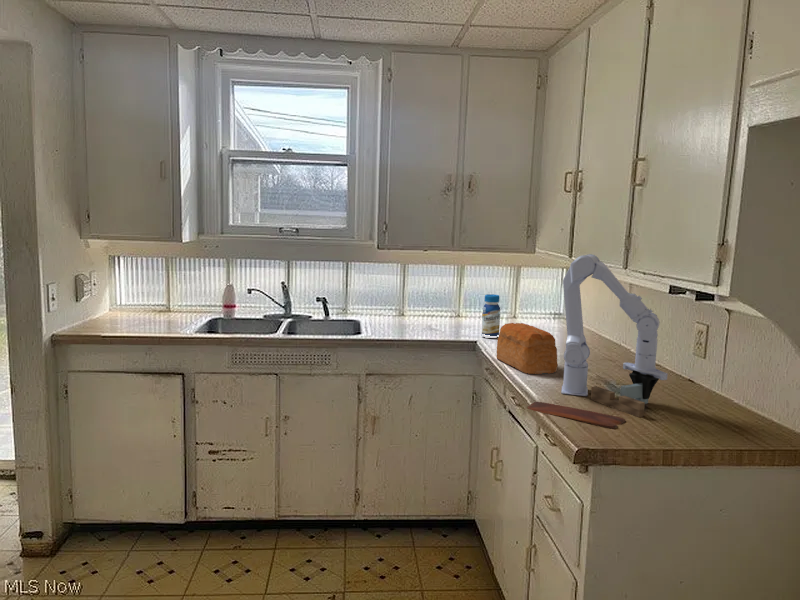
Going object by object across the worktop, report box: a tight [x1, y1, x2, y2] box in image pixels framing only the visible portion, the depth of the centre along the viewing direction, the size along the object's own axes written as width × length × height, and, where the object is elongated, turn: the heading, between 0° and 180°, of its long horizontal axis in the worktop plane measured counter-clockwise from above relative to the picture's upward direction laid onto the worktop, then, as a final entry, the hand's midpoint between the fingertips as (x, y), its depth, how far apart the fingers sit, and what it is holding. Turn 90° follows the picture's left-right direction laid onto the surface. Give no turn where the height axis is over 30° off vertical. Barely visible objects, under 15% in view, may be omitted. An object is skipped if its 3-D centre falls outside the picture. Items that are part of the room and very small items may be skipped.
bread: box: [496, 322, 559, 375], centre depth 221 cm, size 14×27×15 cm, turn 17°
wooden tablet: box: [527, 401, 626, 430], centre depth 166 cm, size 27×10×2 cm, turn 52°
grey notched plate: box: [619, 383, 649, 405], centre depth 176 cm, size 10×2×6 cm, turn 118°
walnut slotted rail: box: [590, 385, 646, 418], centre depth 173 cm, size 18×2×4 cm, turn 28°
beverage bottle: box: [481, 293, 501, 336], centre depth 273 cm, size 8×8×20 cm
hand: (642, 397), depth 178 cm, fingers closed on grey notched plate, 2 cm apart
